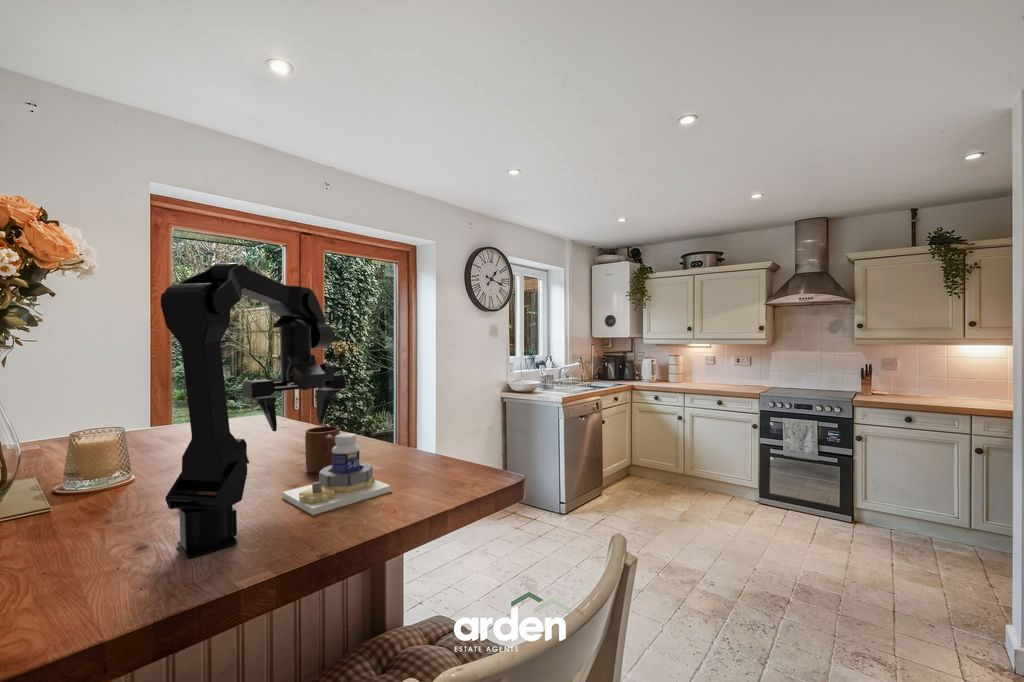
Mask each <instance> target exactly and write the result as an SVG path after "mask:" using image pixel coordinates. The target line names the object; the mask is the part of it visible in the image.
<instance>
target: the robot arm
mask: <svg viewBox="0 0 1024 682" xmlns="http://www.w3.org/2000/svg"><path fill="white" fill-rule="evenodd" d="M242 296H244V297H247V298H250V299H253V300H256V301H258V302H262V303H264V304H266V305H268V307H269V310H270V311H272V312H273V313H274V314H276V315H277V316H279V318H278V320H276V321H275V322H274V323H273V327H274V328H279V338H280V340H279V341H280V343H279V345H280V346H279V347H280V354H279V355H278V356H277V357H278V361H280V375H278V381H275V382H274V380H269V379H265V378H263V379H252V380H251V379H250V380H245V381H244V382H243V383H242V386H241V388H242V389H241V392H242V393H241V395H242V396H244V397H248V398H249V399H250V400H251V401H252V400H253V401H256V402H257V404H258V406H259V408H260V409H261V411H262V412H263V414H264V416H265V419H266V420H267V422H268V425H269V427H270V428H271V430H272V432H277V429H278V427H277V425H278V424H277V423H278V421H277V412H276V402H277V397H276V396H273V394H275V392H282V391H291V390H292V391H293V390H301V391H309V390H313V389H315V402H316V403H315V405H316V418H317V423H318V424H319V425H322V424H323V422H324V420H325V417H326V414H327V411H328V409H329V405H330V403H331V402H332V399H333V398H334V397H335V395H336V394H339V393H341V391H342V390H341V389H346V388H347V386H348V385H347V383H348V382H347V378H346V376H345V375H344V374H339V373H335V365H334V363H332V362H322V363H321V364H317V362H316V357H315V354H312V353H313V350H314V349H324V348H325V349H326V348H328V347H330V346H331V345H332V344H333V342H334V341H335V332H334V330H333V328H332V326H331V325H330V324H329V323H327V322H326V320H327V319H326V317H325V315H324V312H323V309H322V308H321V305H320V303H319V300H318V298H317V295H316V294H315V292H314V291H313V289H311V288H310V287H306V286H301V285H288V284H283V283H282V282H279V281H276V280H275V279H273V278H271V277H268V276H266V275H264V274H262V273H259V272H257V271H255V270H252V269H251V268H249V267H248V266H247V265H245V264H242V263H240V262H221V263H215V264H213V265H211V266H210V267H208V268H207V269H205V270H204V271H202V272H200V273H198V274H195V275H192V276H190V277H188V278H186V279H185V278H184V279H183V280H181V281H180V282H179V283H175V284H171V285H169V286H168V287H167V288H166V289H165V291H164V292H162V293H161V295H160V308H161V311H162V315H163V319H164V323H165V325H166V328H167V329H168V331H169V332H170V333H171V334H172V336H173V337H174V338H175V339H176V341H177V342H178V343H179V344H180V347H181V356H182V364H183V371H184V381H185V389H186V396H187V397H186V399H187V407H188V415H189V416H188V417H189V424H190V433H191V440H190V442H189V443H188V445H187V447H186V448H185V451H184V453H183V454H182V457H181V472H180V473H179V475H178V477H177V479H175V481H174V483H173V484H172V486H171V488H170V490H169V491H168V492H167V494H166V496H165V502H166V505H167V507H168V509H169V510H175V509H176V510H179V536H180V539H179V541H178V542H177V543H176V545H177V546H176V547H177V548H178V549H179V550H180V551H181V552H182V554H183V555H185V557H186V558H188V559H191V558H195V557H198V556H201V555H204V554H208V553H211V552H215V551H217V550H220V549H224V548H228V547H230V546H234V545H236V544H238V539H237V538H236V536H237V535H238V526H237V525H238V520H237V517H238V516H237V509H235V508H234V507H233V506H234V505H236V504H238V503H240V502H241V501H242V500H243V495H244V491H245V486H246V482H247V481H246V480H247V477H248V476H247V475H248V465H247V464H250V460H249V458H248V454H247V453H248V451H247V449H248V447H247V446H248V444H247V442H246V439H245V438H235V436H234V435H233V434H232V433H231V431H230V430H231V429H230V420H229V413H228V411H229V410H228V403H227V402H228V401H227V393H226V383H225V382H226V381H225V374H224V373H225V372H224V365H223V354H222V345H221V341H222V339H223V337H224V335H225V334H226V332H227V330H228V328H229V326H230V324H231V309H232V308H233V307H235V305H237V303H239V302H240V301H241V300H242ZM198 491H207V492H217V494H215V495H197V494H198Z"/></svg>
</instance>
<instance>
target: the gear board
mask: <svg viewBox="0 0 1024 682" xmlns="http://www.w3.org/2000/svg"><path fill="white" fill-rule="evenodd" d="M359 467H360V471H357V472H353V473H349V474H333V473H332V465H331V466H327V467H324V468H323V469H322V470H321V471H320V472H319V473H318V481H314V482H312V484H308V485H305V486H300V487H296V488H292V489H288V490H286V491H281V499H283V500H285V501H287V502H289V503H290V504H292V505H294V506H296V507H297V508H298V509H301V510H303V511H305V512H306V513H307V514H310V515H312V516H315V515H317V514H321V513H325V512H328V511H331V510H334V509H337V508H342V507H345V506H348V505H351V504H355V503H358V502H362V501H364V500H369V499H371V498H375V497H378V496H381V495H384V494H388V493H391V492H392V486H391V484H388V483H384V482H382V481H379V480H378V479H377V480H376V477H375V474H374V472H373V470H374V469H373V468H374V467H373V464H369V463H366V462H362V461H359Z"/></svg>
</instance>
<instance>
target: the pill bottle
mask: <svg viewBox="0 0 1024 682" xmlns="http://www.w3.org/2000/svg"><path fill="white" fill-rule="evenodd" d="M356 442H357V435H356V433H352V432H351V433H350V432H348V433H340V434H339V435H336V436H335V443H336V446H334V447H333V449H332V473H333V474H349V473H353V472H357V471H360V467H359V462H360V446H359V445H358V444H356Z"/></svg>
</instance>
